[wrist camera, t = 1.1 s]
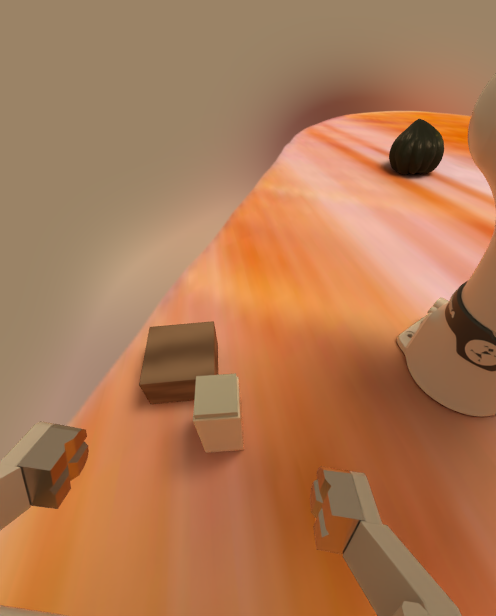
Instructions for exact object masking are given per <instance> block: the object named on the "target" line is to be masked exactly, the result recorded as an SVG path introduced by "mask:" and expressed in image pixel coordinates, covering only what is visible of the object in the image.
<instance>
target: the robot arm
mask: <svg viewBox="0 0 496 616" xmlns="http://www.w3.org/2000/svg"><path fill="white" fill-rule="evenodd" d="M468 144H469V150H470V153H471V156H472V159H473V161H474V163H475V164H476V166H477V167H478V168H479V169H480V171H481V172H482V173H483V175H484V176H485V178H486V180H487V182H488V184H489V186H490V188H491V191H492V194H493V197H494V201H495V208H496V73H495V75H494V76H493V77H492V78H491V80H490V81H489V82H488V84H487V85H486V87H485V88H484V90H483V91H482V93H481V95H480V96H479V99H478V101H477V103H476V105H475V107H474V110H473V112H472V116H471V119H470V124H469V129H468ZM409 337H410V338H409ZM396 341H397V343H398V345H399V347H400V348H401V350H402V351H403V352H404V354H405V357H406V361H407V366H408V369H409V371H410V373H411V375H412V377H413V379H414V380H415V381H416V383H417V384H418V385H419V386H420V388H421V389H422V390H423V391H424V392H425V393H427V394H428V395H429V396H430V397H431V398H433V399H434V400H436V401H437V402H439V403H440V404H442V405H444V406H445V407H447V408H450V409H452V410H454V411H457V412H460V413H463V414H467V415H472V416H492V415H496V222H495V228H494V233H493V236H492V239H491V241H490V244H489V246H488V248H487V250H486V252H485V253H484V255H483V257H482V259H481V261H480V263H479V264H478V266H477V268H476V269H475V271H474V273H473V274H472V276H471V277H470V279H469V280H468V281H467V282H465V283H464V284H462V285H461V286H460V287H459V289H457V290H456V291H455V293H454V294H453V295H452V297H451V299H450V301H447V300H446V299H444V298H439V299H438V300H437V301H436V302H435V304H434V305H433V307H431V308H430V310H429V311H428V314H427V315H426V316H425V317H423V318H422V319H420V320H419V321H418V322H416V323H415V324H413V325H412V326H411V327H409V328H408V329H406V330H405V331H404V332H402V333H401V334H400V335H399V336H398V337H397V339H396ZM86 437H87V433H86V430H85V429H80V428H74V427H69V426H64V425H58V424H52V423H47V422H39V423H37V424H35V425H34V426H33V427H32V428H31V429H30V430H29V431H28V432H27V433H26V434H25V436H24V437H23V438H22V439H21V440H20V441H19V442H18V443H17V444H16V445H15V446H14V447H13V448H12V450H11V451H10V452H9V453H8V454H7V455H6V456H5V457H4V458H3V459H2V460H1V461H0V530H2V529H3V528H4V527H5V526H7V525H8V524H9V523H11V522H12V521H13V520H15V519H16V518H17V517H19V516H20V515H21V514H22V513H24V512H25V511H26V510H28V509H29V508H30V507H31V506H39V507H47V508H55V509H58V508H59V506H60V505H61V503H62V502H63V500H64V498H65V497H66V495H67V494H68V492H69V491H70V489H71V484H70V481H71V480H73V479H74V478H76V477H77V476H79V474H80V473H81V471H82V469H83V468H84V466H85V463H86V461H87V458H88V452H89V450H88V445H87V444H86V443H85V442H84V440H85V439H86ZM317 478H318V479H317V480H315V481H314V482H313V485H312V488H311V496H310V499H311V511H312V513H313V515H314V516H315V518H316V522H315V524H314V534H315V541H316V549H317V550H321V551H327V552H332V553H337V554H343V558H344V559H345V561H346V563H347V565H348V566H349V568H350V570H351V571H352V573H353V575H354V576H355V578H356V580H357V582H358V583H359V585H360V587H361V588H362V590H363V592H364V593H365V595H366V597H367V599H368V600H369V602H370V604H371V605H372V607H373V609H374V610H375V612H376V614H377V616H462V615H461V613H460V611H459V609H458V607H457V606H456V605H455V604H454V603H453V601H452V600H451V599H450V598H449V597H448V596H447V594H446V593H445V592H444V591H443V590H442V589H441V587H440V586H439V585H438V584H437V583H436V582H435V580H434V579H433V578H432V577H431V576H430V575H429V573H428V572H427V571H426V570H425V569H424V568H423V566H422V565H421V564H420V563H419V562H418V561H417V559H416V558H415V557H414V556H413V555H412V554H411V552H410V551H409V550H408V549H407V548H406V547H405V545H404V544H403V543H402V542H401V541H400V540H399V539H398V537H397V536H396V535H395V534H394V533H393V532H392V530H391V529H390V528H389V527H388V526H387V525H384V524H382V521H381V518H380V515H379V512H378V509H377V506H376V503H375V500H374V497H373V494H372V491H371V488H370V485H369V482H368V479H367V476H366V475H365V474H364V473H360V472H353V471H348V470H342V469H335V468H328V467H322V466H321V467H320V468H319V469H318V471H317ZM30 505H31V506H30ZM0 616H67V615H61V614H54V613H48V612H42V611H35V610H29V609H22V608H16V607H9V606H3V605H0Z"/></svg>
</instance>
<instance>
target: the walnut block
mask: <svg viewBox="0 0 496 616" xmlns="http://www.w3.org/2000/svg"><path fill="white" fill-rule="evenodd" d="M208 375H218V343H217V337H216V332H215V326H214V322H202V323H191V324H179V325H168V326H156V327H150V328H149V334H148V339H147V345H146V350H145V356H144V361H143V366H142V372H141V377H140V383H139V385H140V387H141V389H142V390H143V392H144V394H145V395H146V397H147V399H148V400H149V402H150V404H158V403H169V402H179V401H189V400H195V385H196V376H208Z"/></svg>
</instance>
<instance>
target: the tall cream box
mask: <svg viewBox="0 0 496 616" xmlns="http://www.w3.org/2000/svg"><path fill="white" fill-rule="evenodd" d="M193 423H194V425H195V428H196V430H197V432H198V435H199V437H200V440H201V442H202V445H203V447H204V450H205V452H206V453H208V452H222V451H235V450H244V442H243V421H242V407H241V397H240V388H239V378H238V377H237V376H236V374H223V375H208V376H196V385H195V400H194V414H193Z"/></svg>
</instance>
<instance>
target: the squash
mask: <svg viewBox="0 0 496 616" xmlns="http://www.w3.org/2000/svg"><path fill="white" fill-rule="evenodd" d="M443 153H444V142H443V139H442V136H441V134H440V133H439V132H438V131H437V130H436V129H435V128H434V127H433V126H432V125H430V124H429V123H427V122H426V121H424V120H421V119H418V120H417V121H415V122H414V123H412V124H411V125H410V126H409V127H408V128H407V129H406V130H405V131H404V132H403V133H401V134H400V135H399V136H398V137H397V139H396V140H395V141H394V143H393V145H392V147H391V150H390V154H389V159H390V164H391V166H392V168H393V169H394V170H395V171H398V172H399V173H400V174H408V173H409V172H410V173H411V174H415V173H416V172H417V173H419V174H427V173H430V172H431V171H433V170H434V169H435V168H436V167H437V166H438V165H439V163H440V161H441V159H442V157H443Z"/></svg>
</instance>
